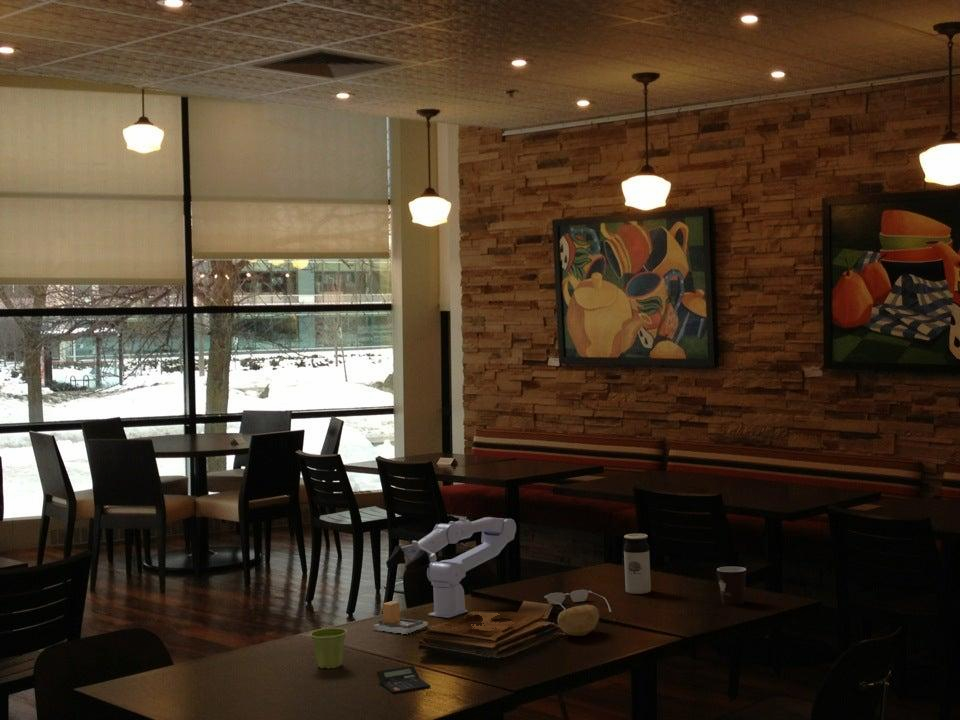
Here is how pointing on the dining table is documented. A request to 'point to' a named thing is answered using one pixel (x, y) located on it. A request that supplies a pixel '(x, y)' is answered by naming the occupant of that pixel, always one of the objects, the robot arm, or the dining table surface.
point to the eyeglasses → (575, 596)
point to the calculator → (401, 680)
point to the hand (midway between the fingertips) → (397, 567)
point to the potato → (578, 620)
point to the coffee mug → (731, 584)
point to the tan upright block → (391, 612)
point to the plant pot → (329, 646)
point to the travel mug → (637, 564)
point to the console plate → (400, 626)
